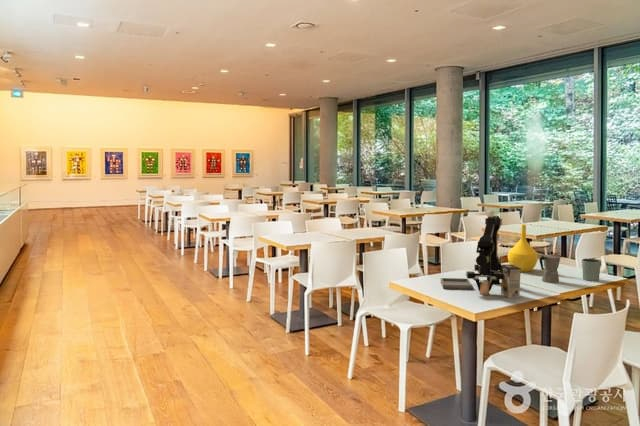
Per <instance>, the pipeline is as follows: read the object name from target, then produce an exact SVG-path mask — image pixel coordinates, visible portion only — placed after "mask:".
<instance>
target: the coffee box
mask: <svg viewBox="0 0 640 426" xmlns="http://www.w3.org/2000/svg"><path fill="white" fill-rule="evenodd" d="M501 265H502V274H503V275H504V279H501V280H500V284H501V285H500V288H501V290H500V293H501V294H502V295H503V296H504V297H506V298H507V299H520V291H521V290H520V289H521V288H520V287H521V273H522V272H521V268H519V267H517V266H515V265H510V264H508V263H507V264H501Z"/></svg>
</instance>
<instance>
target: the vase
mask: <svg viewBox="0 0 640 426" xmlns="http://www.w3.org/2000/svg"><path fill="white" fill-rule="evenodd" d="M538 256H539V255H538V252H537V251H536V250H535V248H534V247H532V246H531V244H530V243H529V242H528V241H527V225H526V224H521V229H520V239H519V241H518V242H517V243H516V244H515V245H514V246H513V247H512V248H511V249H509V250H508V253H507V260H508V263H509V264H508V265H515V266H517V267H519V268H521V272H520V273H522V272H523V273H528V272H531V271H533V270H534V268H535V267H536V265H537V263H538V261H539V260H538V259H539V257H538Z"/></svg>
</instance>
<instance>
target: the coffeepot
mask: <svg viewBox="0 0 640 426" xmlns="http://www.w3.org/2000/svg"><path fill="white" fill-rule="evenodd" d="M561 258H562V257H561V256H560V255H557V254H556V255H555V254H554V251H552V250H551V251H550V254H544V255H542V256H540V258H538V259H539V260H538V261H539V265H540V269H541V270H542V271H543V275H542V280H541V281H542V282H543V283H548V284H558V283H559V282H560V278H559V271H558V269H559V265H560V261H561Z"/></svg>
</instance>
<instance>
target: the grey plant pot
mask: <svg viewBox="0 0 640 426" xmlns="http://www.w3.org/2000/svg"><path fill="white" fill-rule="evenodd" d="M601 266H602V260H600V259H598V258H597V259H596V258H582V259H581V267H582V279H583V281H586V282H592V281H596V282H599V281H600V274H601Z"/></svg>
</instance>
